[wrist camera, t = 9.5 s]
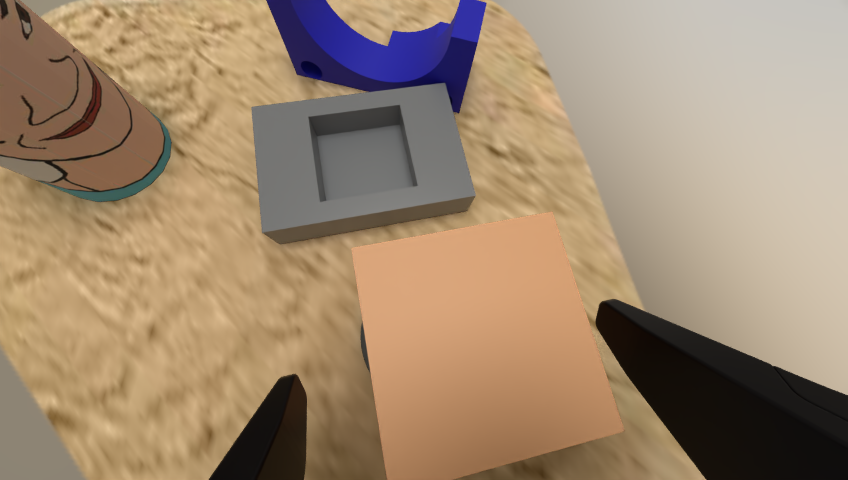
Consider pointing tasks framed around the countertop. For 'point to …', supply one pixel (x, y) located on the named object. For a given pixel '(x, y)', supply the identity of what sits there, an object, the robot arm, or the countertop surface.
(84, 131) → the cup
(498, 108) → the countertop surface
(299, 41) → the cable clip
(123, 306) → the countertop surface
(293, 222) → the socket block
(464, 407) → the tan rectangular block
